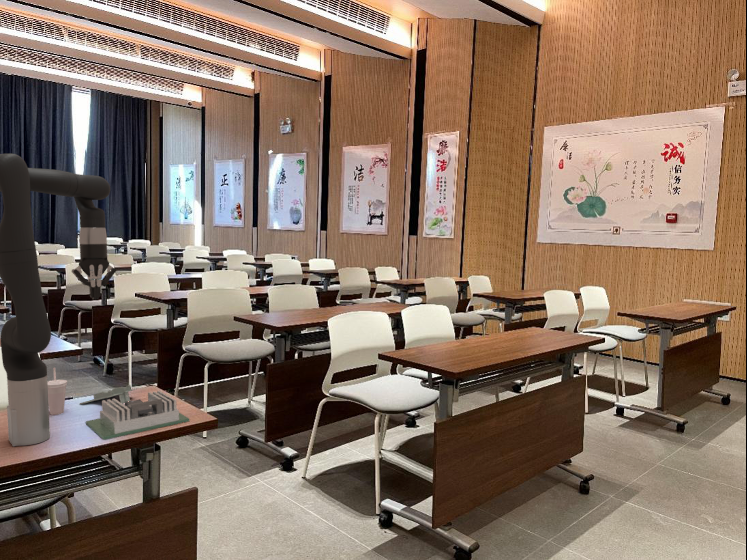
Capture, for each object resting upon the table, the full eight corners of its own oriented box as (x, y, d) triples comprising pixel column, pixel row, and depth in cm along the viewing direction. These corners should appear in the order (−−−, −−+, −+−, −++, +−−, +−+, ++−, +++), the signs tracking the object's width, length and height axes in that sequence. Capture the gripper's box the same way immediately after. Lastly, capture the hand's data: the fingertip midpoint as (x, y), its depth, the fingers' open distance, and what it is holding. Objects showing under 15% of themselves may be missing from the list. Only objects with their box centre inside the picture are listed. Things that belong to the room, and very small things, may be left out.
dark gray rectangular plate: (124, 405, 174) (138, 414, 166) (124, 401, 174) (138, 410, 166) (139, 402, 177) (153, 411, 168) (139, 399, 177) (153, 407, 168)
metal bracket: (142, 381, 198) (104, 392, 185) (146, 398, 198) (109, 410, 184) (113, 388, 204) (75, 399, 191) (117, 404, 204) (79, 416, 191)
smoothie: (64, 408, 186) (62, 364, 185) (71, 413, 181) (69, 368, 180) (42, 413, 181) (40, 368, 180) (49, 417, 177) (46, 371, 176)
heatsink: (103, 439, 159) (102, 410, 158) (85, 423, 171) (84, 396, 171) (189, 421, 174) (188, 394, 173) (167, 407, 187) (166, 383, 186)
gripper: (73, 243, 173) (75, 301, 174) (119, 242, 182) (121, 298, 183) (66, 242, 179) (68, 299, 180) (112, 242, 187) (114, 296, 189)
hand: (95, 298), depth 182 cm, fingers closed
